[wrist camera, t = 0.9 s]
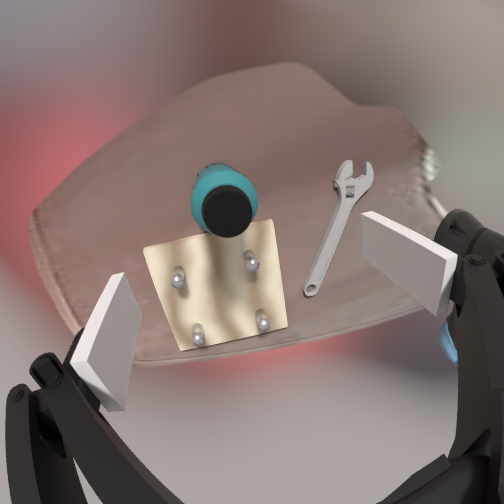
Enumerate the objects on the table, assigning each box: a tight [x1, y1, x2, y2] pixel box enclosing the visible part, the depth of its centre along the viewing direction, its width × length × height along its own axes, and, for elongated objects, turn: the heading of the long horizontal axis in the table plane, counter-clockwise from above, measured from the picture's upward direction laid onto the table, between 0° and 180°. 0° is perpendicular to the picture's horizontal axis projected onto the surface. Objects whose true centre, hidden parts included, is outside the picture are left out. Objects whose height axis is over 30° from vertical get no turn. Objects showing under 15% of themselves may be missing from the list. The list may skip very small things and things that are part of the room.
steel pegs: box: [171, 250, 270, 346], centre depth 42 cm, size 13×13×4 cm
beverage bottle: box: [191, 163, 258, 238], centre depth 30 cm, size 6×7×20 cm
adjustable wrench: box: [303, 160, 374, 296], centre depth 45 cm, size 25×6×2 cm, turn 157°
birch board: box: [143, 219, 288, 351], centre depth 45 cm, size 20×20×2 cm
